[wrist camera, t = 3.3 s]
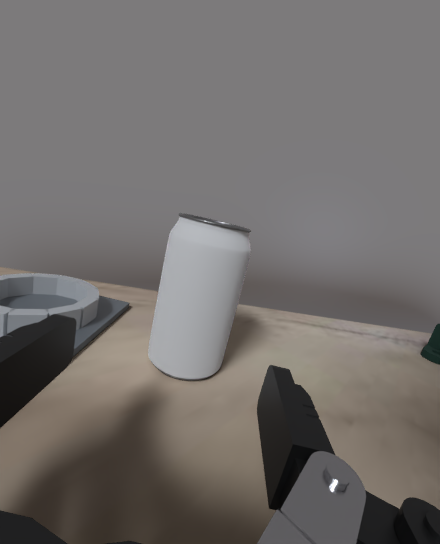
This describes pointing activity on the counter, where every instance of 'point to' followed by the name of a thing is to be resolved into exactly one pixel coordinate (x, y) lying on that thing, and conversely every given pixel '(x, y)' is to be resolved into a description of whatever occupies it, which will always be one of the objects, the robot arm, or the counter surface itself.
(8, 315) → the holder
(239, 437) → the counter surface
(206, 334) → the can
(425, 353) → the mount
